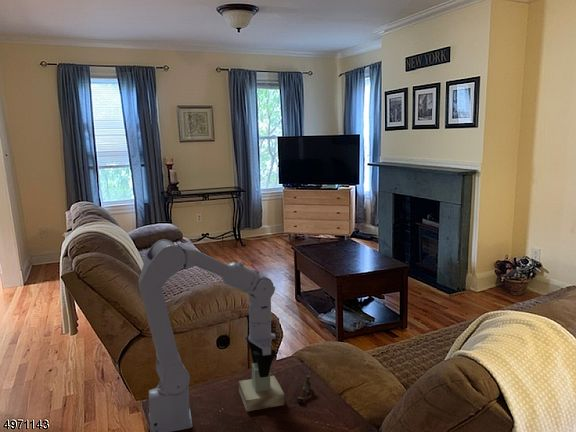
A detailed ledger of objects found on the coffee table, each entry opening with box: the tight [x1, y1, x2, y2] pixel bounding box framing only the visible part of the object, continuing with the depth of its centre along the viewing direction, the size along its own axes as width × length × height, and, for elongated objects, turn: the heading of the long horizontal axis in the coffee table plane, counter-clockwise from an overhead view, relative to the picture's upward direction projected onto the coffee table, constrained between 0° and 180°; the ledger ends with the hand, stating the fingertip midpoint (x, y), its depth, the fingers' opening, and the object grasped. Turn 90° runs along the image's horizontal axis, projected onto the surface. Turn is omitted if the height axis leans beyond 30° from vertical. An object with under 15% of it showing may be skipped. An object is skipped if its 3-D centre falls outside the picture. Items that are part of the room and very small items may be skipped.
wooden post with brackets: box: [296, 374, 312, 404], centre depth 115 cm, size 2×8×4 cm, turn 159°
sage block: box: [251, 363, 271, 392], centre depth 113 cm, size 4×4×6 cm
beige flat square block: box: [238, 375, 286, 412], centre depth 113 cm, size 10×10×3 cm
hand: (260, 369), depth 113 cm, fingers open, 7 cm apart
